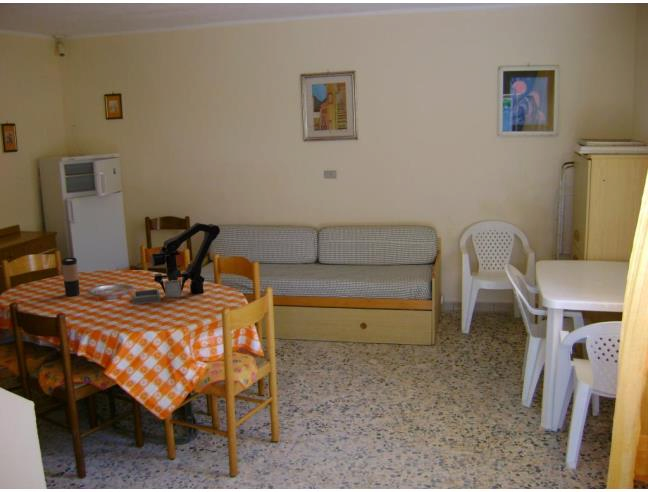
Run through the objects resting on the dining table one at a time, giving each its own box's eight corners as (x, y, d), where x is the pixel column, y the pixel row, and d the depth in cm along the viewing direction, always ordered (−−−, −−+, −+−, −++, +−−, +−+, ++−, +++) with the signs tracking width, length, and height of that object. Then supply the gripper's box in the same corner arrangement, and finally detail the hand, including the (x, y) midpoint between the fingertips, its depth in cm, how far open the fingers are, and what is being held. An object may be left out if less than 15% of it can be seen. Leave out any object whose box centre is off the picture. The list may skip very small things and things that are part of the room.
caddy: (159, 293, 363) (159, 288, 362) (160, 301, 348) (160, 296, 347) (133, 295, 359) (132, 290, 359) (133, 304, 344) (132, 298, 344)
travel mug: (62, 295, 362) (58, 260, 357) (73, 292, 368) (69, 257, 364) (72, 297, 358) (68, 261, 354) (83, 293, 365) (79, 258, 360)
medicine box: (182, 295, 359) (181, 279, 357) (179, 297, 354) (178, 282, 353) (167, 295, 360) (166, 279, 358) (165, 297, 355) (164, 281, 353)
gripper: (153, 268, 343) (155, 297, 347) (190, 265, 348) (192, 294, 351) (153, 263, 354) (155, 291, 357) (188, 261, 358) (190, 288, 362)
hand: (173, 291), depth 357 cm, fingers closed on medicine box, 9 cm apart
